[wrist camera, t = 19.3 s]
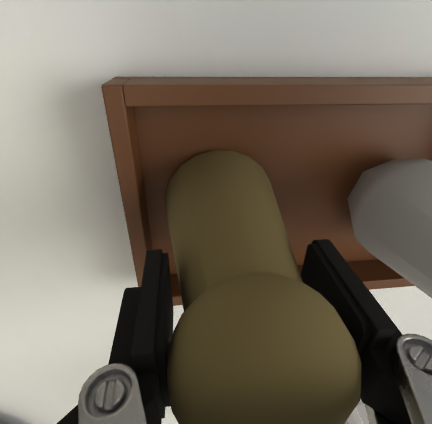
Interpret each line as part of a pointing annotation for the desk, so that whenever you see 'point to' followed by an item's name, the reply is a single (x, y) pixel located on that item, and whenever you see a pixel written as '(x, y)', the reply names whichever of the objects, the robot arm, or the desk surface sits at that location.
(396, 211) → the salt shaker
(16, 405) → the desk surface
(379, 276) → the tray
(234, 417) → the pepper shaker
